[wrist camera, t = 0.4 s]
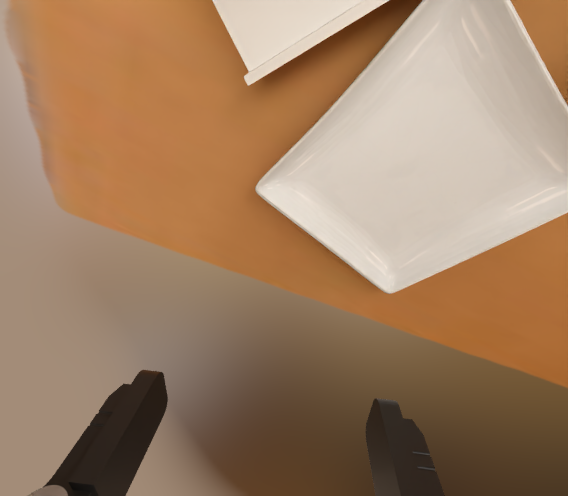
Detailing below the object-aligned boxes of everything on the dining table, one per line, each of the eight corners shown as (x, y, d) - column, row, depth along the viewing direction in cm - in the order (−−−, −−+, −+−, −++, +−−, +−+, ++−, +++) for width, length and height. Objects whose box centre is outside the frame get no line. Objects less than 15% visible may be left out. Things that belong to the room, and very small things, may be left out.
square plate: (257, 176, 38) (250, 192, 35) (462, -56, 22) (480, -63, 19) (386, 281, 47) (388, 299, 44) (598, 173, 31) (624, 191, 28)
